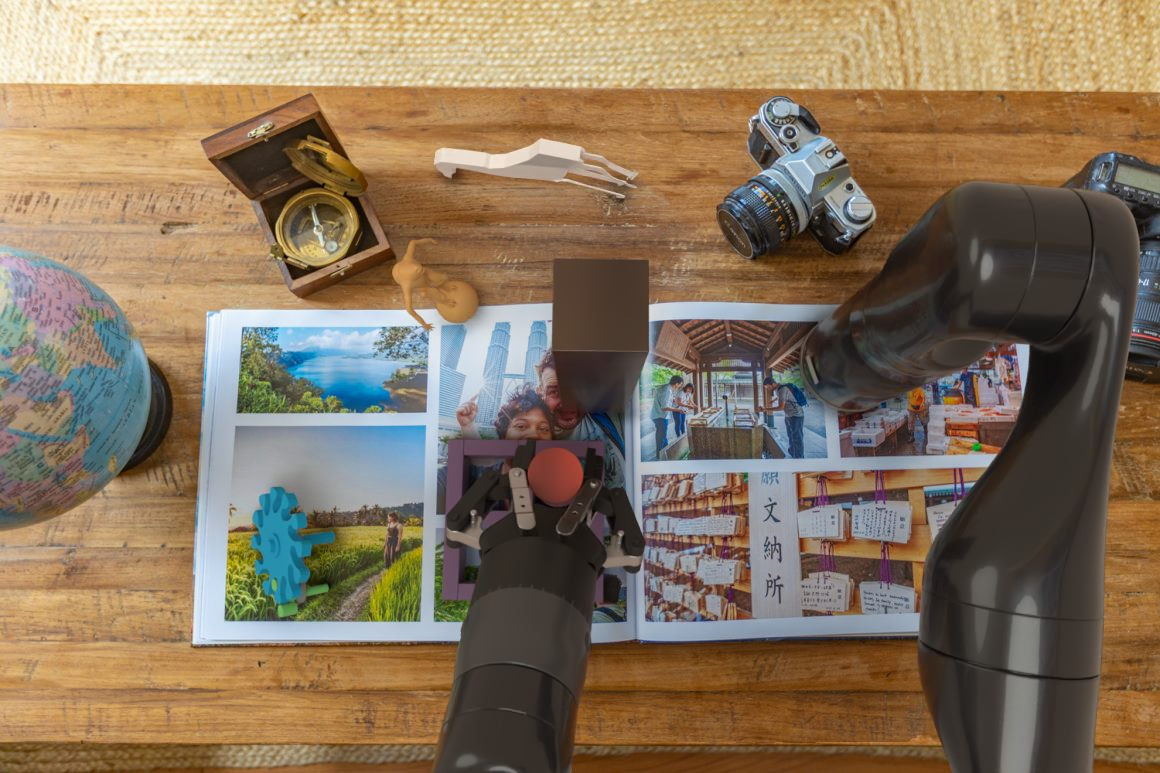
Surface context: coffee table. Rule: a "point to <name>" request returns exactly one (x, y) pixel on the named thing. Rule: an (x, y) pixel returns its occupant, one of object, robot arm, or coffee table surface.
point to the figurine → (434, 289)
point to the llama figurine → (532, 163)
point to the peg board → (459, 485)
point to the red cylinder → (555, 476)
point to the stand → (599, 331)
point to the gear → (285, 550)
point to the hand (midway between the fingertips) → (561, 453)
